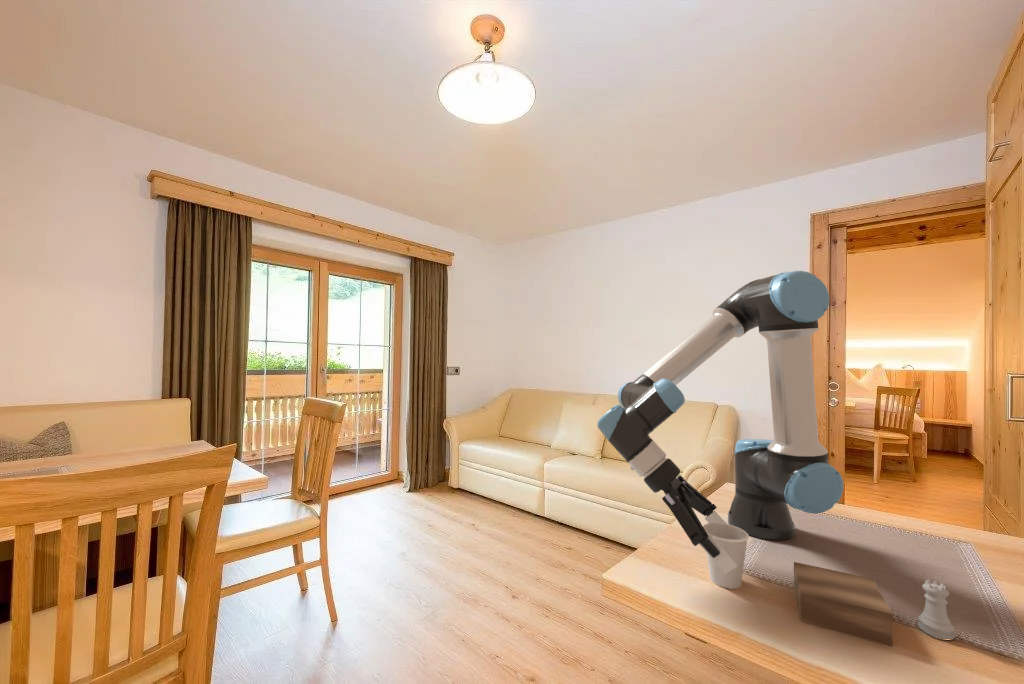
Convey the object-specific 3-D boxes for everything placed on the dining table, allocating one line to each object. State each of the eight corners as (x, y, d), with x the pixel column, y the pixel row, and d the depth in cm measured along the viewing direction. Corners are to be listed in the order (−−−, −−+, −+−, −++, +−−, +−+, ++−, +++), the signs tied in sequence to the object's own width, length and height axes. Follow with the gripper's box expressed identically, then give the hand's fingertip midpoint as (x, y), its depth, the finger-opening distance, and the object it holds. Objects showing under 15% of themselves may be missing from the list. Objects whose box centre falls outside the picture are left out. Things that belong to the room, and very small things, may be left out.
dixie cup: (694, 579, 86) (695, 529, 86) (713, 565, 91) (713, 519, 91) (738, 597, 79) (738, 544, 79) (755, 582, 84) (755, 532, 85)
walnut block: (793, 587, 83) (793, 561, 83) (872, 606, 77) (872, 578, 77) (800, 621, 72) (800, 592, 72) (892, 646, 66) (892, 614, 66)
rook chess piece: (963, 643, 67) (963, 593, 67) (930, 639, 68) (930, 589, 68) (941, 626, 71) (940, 578, 72) (910, 622, 72) (910, 575, 73)
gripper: (653, 464, 104) (720, 539, 96) (628, 494, 82) (713, 594, 75) (676, 445, 102) (747, 521, 94) (657, 471, 80) (747, 572, 72)
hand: (732, 554), depth 84 cm, fingers open, 13 cm apart
